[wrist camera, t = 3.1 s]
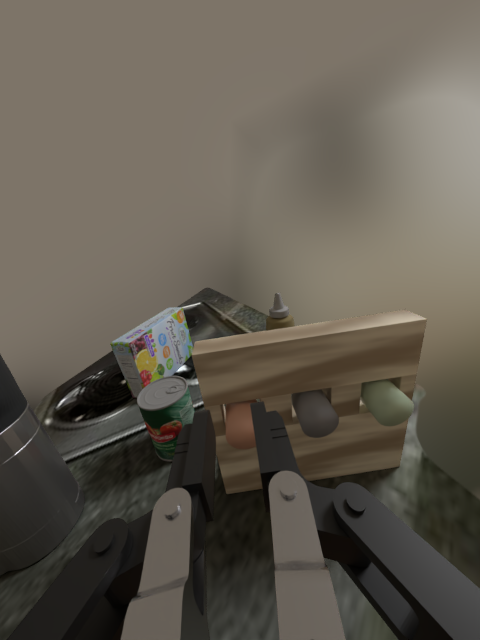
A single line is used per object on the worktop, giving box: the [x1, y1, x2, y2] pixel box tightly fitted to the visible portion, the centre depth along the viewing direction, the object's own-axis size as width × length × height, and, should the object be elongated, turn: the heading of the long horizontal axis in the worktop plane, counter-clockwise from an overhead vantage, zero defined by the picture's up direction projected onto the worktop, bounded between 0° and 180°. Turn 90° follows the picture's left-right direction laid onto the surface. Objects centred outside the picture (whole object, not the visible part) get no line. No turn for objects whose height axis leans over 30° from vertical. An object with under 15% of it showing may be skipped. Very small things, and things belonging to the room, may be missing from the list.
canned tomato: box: [137, 376, 195, 461], centre depth 38 cm, size 8×8×11 cm
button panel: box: [192, 310, 427, 494], centre depth 31 cm, size 10×24×22 cm, turn 94°
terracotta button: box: [226, 399, 257, 449], centre depth 25 cm, size 4×4×4 cm
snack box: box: [111, 307, 193, 398], centre depth 58 cm, size 21×6×15 cm, turn 162°
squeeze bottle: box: [266, 293, 294, 331], centre depth 56 cm, size 8×8×18 cm
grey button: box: [291, 389, 339, 438], centre depth 25 cm, size 4×4×4 cm
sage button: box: [360, 379, 414, 426], centre depth 26 cm, size 4×4×4 cm
